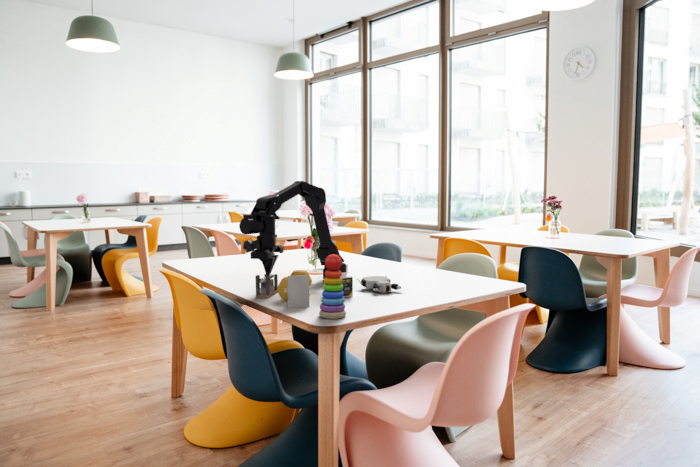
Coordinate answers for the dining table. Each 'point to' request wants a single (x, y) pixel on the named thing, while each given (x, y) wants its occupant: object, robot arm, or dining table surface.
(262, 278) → the grey bar
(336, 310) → the stacking toy
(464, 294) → the dining table surface
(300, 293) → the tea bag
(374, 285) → the robot toy
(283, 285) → the dumbbell
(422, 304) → the dining table surface
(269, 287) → the grey and tan frame
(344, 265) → the medicine bottle
